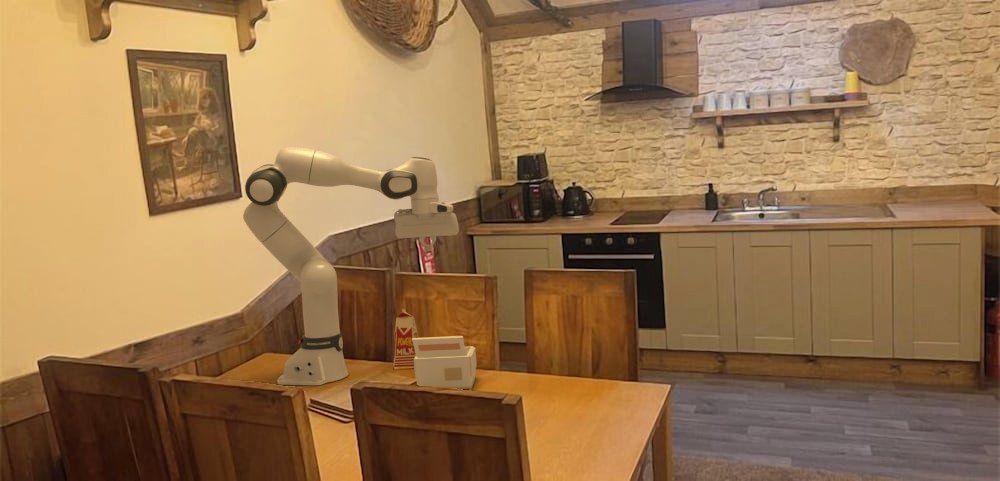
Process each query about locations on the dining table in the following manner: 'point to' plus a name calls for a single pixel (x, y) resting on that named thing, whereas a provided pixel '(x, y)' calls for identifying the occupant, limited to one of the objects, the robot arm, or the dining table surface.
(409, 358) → the milk carton
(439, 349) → the flap
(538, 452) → the dining table surface
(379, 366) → the dining table surface
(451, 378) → the carton
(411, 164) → the robot arm
